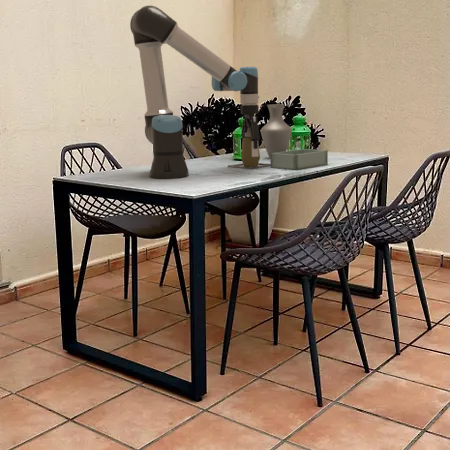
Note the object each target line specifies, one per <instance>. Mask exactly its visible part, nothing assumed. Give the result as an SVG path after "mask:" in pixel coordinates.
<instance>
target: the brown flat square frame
mask: <svg viewBox="0 0 450 450" xmlns="http://www.w3.org/2000/svg"><path fill="white" fill-rule="evenodd" d="M268 166H269V167H271V163H264V162H259V163H258V166H256V167H245V166H244V165H243V162H242V163H236V164H231V165H230V164H229V165H227V168H234V169H235V168H236V169H245V170H254V169H255V170H256V169H261V168H262V167H263V168H269V167H268Z"/></svg>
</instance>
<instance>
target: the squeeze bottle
mask: <svg viewBox="0 0 450 450" xmlns="http://www.w3.org/2000/svg"><path fill="white" fill-rule="evenodd" d="M251 139H252V137H251V133H250V129H249V128H248V130H247V133H245V138H242V144H241V154H240V156H241V157H240V158H241V162H242V163H243V165H242V166H244V167H256V166H259V165H258V163H260V159H261V156H260V155H261V154H260V145H259V144H258V157H252V142H251Z"/></svg>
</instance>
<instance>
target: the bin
mask: <svg viewBox="0 0 450 450" xmlns="http://www.w3.org/2000/svg"><path fill="white" fill-rule="evenodd" d="M328 153H329V152H328V150H327V149H326V150H322V149H309V148H307V149H306V148H300V149H293V150H292V149H291V150H287V151H284V152H277V153H270V158H269V159H270V161H269V162H270V164H271V166H270V168H271V169H279V170H281V169H282V170H289V171H291V170H292V171H299V170H303V169H305V170H306V169H309V168H315V167H321V166H326V165H327V166H328V160H329V159H328V158H329V157H328Z"/></svg>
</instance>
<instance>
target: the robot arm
mask: <svg viewBox="0 0 450 450" xmlns="http://www.w3.org/2000/svg"><path fill="white" fill-rule="evenodd" d="M129 25H130V26H129V27H130V30H131V33H132V35H133V41H134V42H133V43H134V47H136V48H137V49H138V52H139V58H140V65H141V72H142V80H143V88H144V94H145V95H144V96H145V101H146V103H145V104H146V112H145V113H144V114H143V115H144V122H145V123H144V124H145V126H144V133H145V134H144V135H145V137H146V139H147V141H148V142H149V143H151V144H152V151H153V152H152V154H153V159H152V161H151V162H152V163H151V167H150V169H149V177H150V178H153V179H178V178H179V179H180V178H185V177H188V176H189V175H190V174H189V168H188V166H187V161H186V160H185V157H184V139H183V127H184V126H183V120H182V118H181V117H180V116H178V115H174V111H173V110H171V109H170V108H169V101H168V95H167V88H166V87H167V85H166V78H165V70H164V61H163V54H162V46H163V45H166V44H167V45H168V46H170V48H172V49H174V50H175V51H176V52H178V53H179V54H180V55H182V56H183V57H185V58H186V59H188V60H189V61H190V62H192V63H193V64H195V65H196V66H197V67H198V68H200V69H201V70H203V71H205V72H206V73H207V74H208V75H209V76H211V87H212V90H213V91H214V92H239V98H240V100H239V101H240V105H241V106H240V114H241V115H243V116H242V124H241V132H240V133H241V134H240V136H241V138H242V139H243V138H245V133H247V130H248V128H249V129H250V133H251V137H252V139H251V142H252V157H258V145H259V141H260V140H261V136H260V130H259V129H260V128H259V124H258V116H255V115H257V114H259V105H258V103H259V99H260V96H259V73H258V71H259V70H258V68H257V67H256V66H240V67H239V70H237V69H236V68H234V66H231V65H230V64H229V63H228V62H226V61H225V60H224V59H222V58H220V56H218V55H217V54H216V53H214V52H212V51H211V50H210V49H208V48H207V47H206V46H204V45H203V44H202V43H201V42H199V41H198V39H195V38H194V37H193V36H191V35H190V34H189V33H187V32H186V31H184V30H183V29H182V28H180V26H179V25H178V22H177V21H176V20H175V19H173V18H172V17H171V16H170V15H168V14H167V13H166V12H165V11H163V10H162V9H161V8H159V7H157V6H154V5H144V6H143V7H141V8H140V9H138V10H137V11H135V12H134V13H133V15H132V16H131V19H130V23H129Z"/></svg>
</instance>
